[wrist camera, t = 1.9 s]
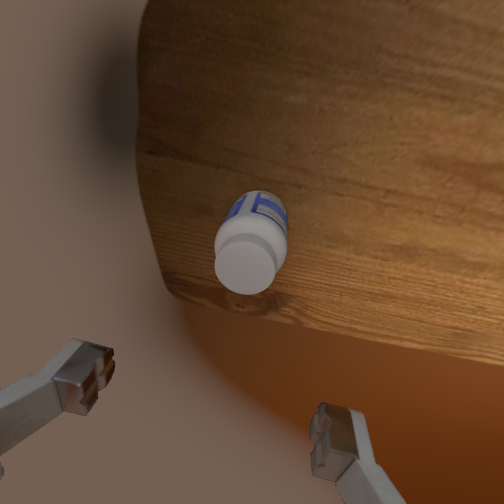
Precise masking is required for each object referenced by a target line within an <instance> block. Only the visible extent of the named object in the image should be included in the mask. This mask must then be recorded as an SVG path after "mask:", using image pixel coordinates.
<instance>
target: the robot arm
mask: <svg viewBox="0 0 504 504" xmlns="http://www.w3.org/2000/svg"><path fill="white" fill-rule="evenodd" d="M113 355H114V350H113V348H109V347H105V346H102V345H98V344H94V343H90V342H87V341H83V340H79V339H75V338H73V339H72V340H70V341H68V342H67V343H66V344H65V345H64V346H63V347H62V348H61V349H60V350H59V351H58V352H57V354H55V356H54V357H53V358H52V359H51V360H50V361H49V362H48V363H47V364H46V365H45V366H44V367H43V368H42V369H41V370H40V371H39V372H38V373H37V374H36V375H29V376H27V377H25V378H23V379H21V380H18V381H17V382H14V383H12V384H10V385H8V386H6V387H4V388H2V389H0V456H1V455H2V454H4V453H5V452H7V451H8V450H9V449H11V448H12V447H14V446H15V445H17V444H18V443H20V442H21V441H22V440H24V439H25V438H27V437H28V436H30V435H31V434H33V433H34V432H35V431H37V430H38V429H40V428H41V427H43V426H44V425H46V424H47V423H48V422H50V421H51V420H53V419H54V418H56V417H57V416H59V415H60V414H61V413H63V411H65V412H69V413H74V414H78V415H82V416H87V414H88V413H89V411H90V410H91V408H92V407H93V405H94V404H95V402H96V401H97V399H98V391H100V390H102V389H103V388H105V387H106V386H107V384H108V383H109V381H110V380H111V378H112V375H113V373H114V369H115V361H114V360H113V359H112V357H113ZM310 441H311V443H312V444H313V446H314V450H313V451H312V453H311V469H312V476H315V477H318V478H322V479H325V480H328V481H332V482H335V485H336V487H337V489H338V491H339V493H340V496H341V498H342V500H343V502H344V504H406V502H405V501H404V499H403V498H402V496H401V495H400V493H399V492H398V491H397V489H396V488H395V486H394V485H393V484H392V482H391V480H390V479H389V478H388V476H387V475H386V473H385V472H384V470H383V469H382V468H381V466H380V465H377V464H376V463H375V459H374V454H373V450H372V447H371V442H370V438H369V434H368V430H367V425H366V421H365V417H364V415H363V413H362V412H360V411H356V410H352V409H348V408H345V407H341V406H337V405H333V404H329V403H324V402H321V403H320V404H319V406H318V412H316V413H314V414H313V416H312V418H311V423H310ZM3 475H4V468H3V466H2V465H1V463H0V479H1V478H2V477H3Z"/></svg>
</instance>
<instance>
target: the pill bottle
mask: <svg viewBox="0 0 504 504" xmlns="http://www.w3.org/2000/svg"><path fill="white" fill-rule="evenodd" d="M214 250H215V255H216V259H215V272H216V275H217V277H218V279H219V280H220V282H221V283H222V284H223V285H224V286H225V287H226V288H228V289H229V290H231V291H233V292H236V293H239V294H246V295H250V294H256V293H259V292H261V291H263V290H265V289H266V288H268V287H269V286H270V284H271V283H272V281H273V280H274V277H275V273H277V272H278V271H279V269H280V268H281V267H282V265H283V263H284V261H285V258H286V254H287V212H286V209H285V206H284V205H283V203H282V202H281V200H280V199H279V198H278V197H276V196H275V195H273V194H271V193H269V192H266V191H251V192H248V193H245V194H244V195H242V196H241V197H240V198H238V199H237V201H236V202H235V203H234V204H233V206H232V208H231V210H230V212H229V213H228V215H227V217H226V218H225V220H224V222H223V223H222V225H221V227H220V229H219V231H218V233H217V235H216V238H215V244H214Z"/></svg>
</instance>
